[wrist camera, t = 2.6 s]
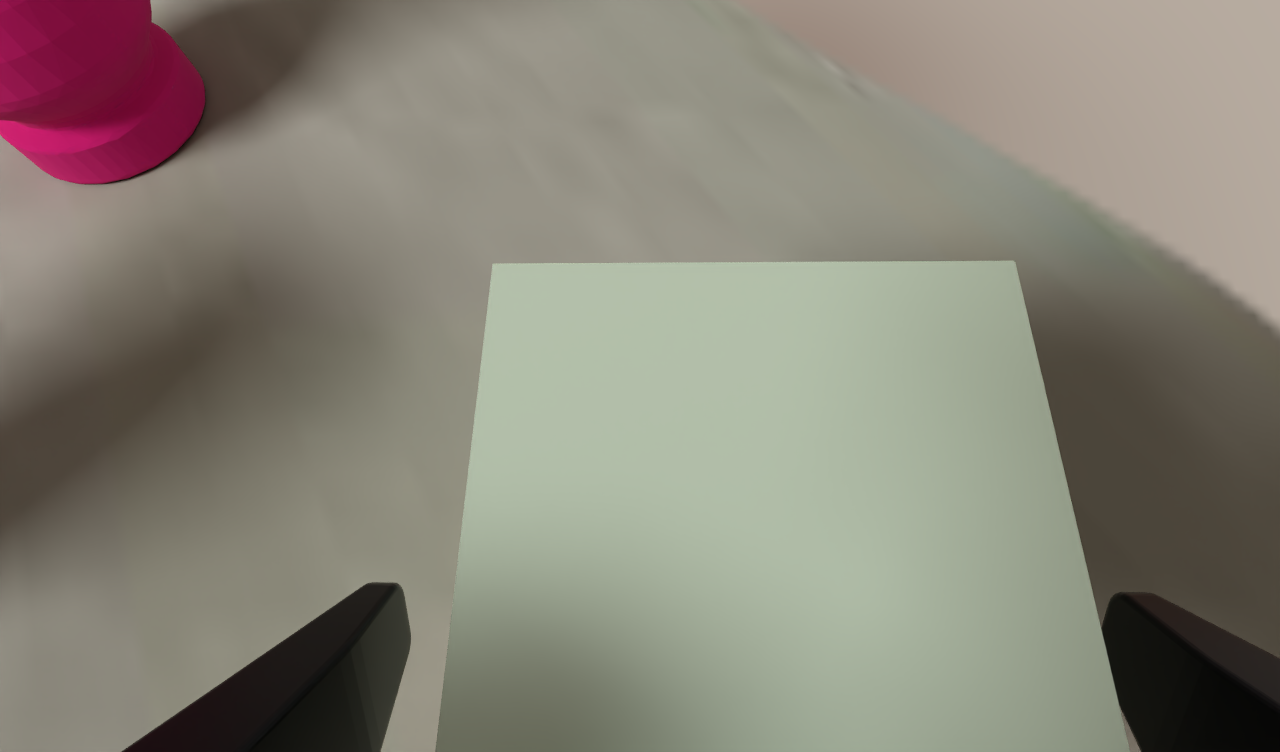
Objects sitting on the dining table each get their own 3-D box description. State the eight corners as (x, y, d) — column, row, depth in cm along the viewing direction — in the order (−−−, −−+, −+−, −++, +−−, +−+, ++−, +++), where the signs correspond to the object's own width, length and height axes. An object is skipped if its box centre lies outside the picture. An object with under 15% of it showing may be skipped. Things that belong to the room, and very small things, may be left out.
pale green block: (857, 766, 16) (1165, 902, 6) (569, 760, 16) (420, 881, 6) (830, 483, 18) (1015, 260, 9) (583, 482, 19) (493, 264, 9)
